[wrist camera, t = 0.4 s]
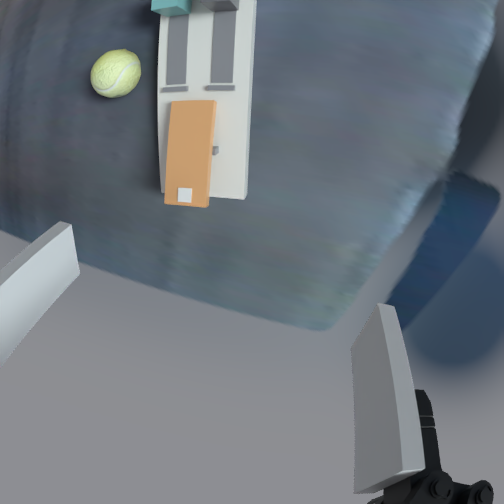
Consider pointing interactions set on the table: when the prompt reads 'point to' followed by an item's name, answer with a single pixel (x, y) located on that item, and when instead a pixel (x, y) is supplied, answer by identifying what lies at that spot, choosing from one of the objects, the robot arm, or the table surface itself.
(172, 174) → the tan block
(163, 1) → the teal slider
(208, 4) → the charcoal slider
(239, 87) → the panel
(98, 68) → the tennis ball
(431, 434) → the robot arm
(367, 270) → the table surface
